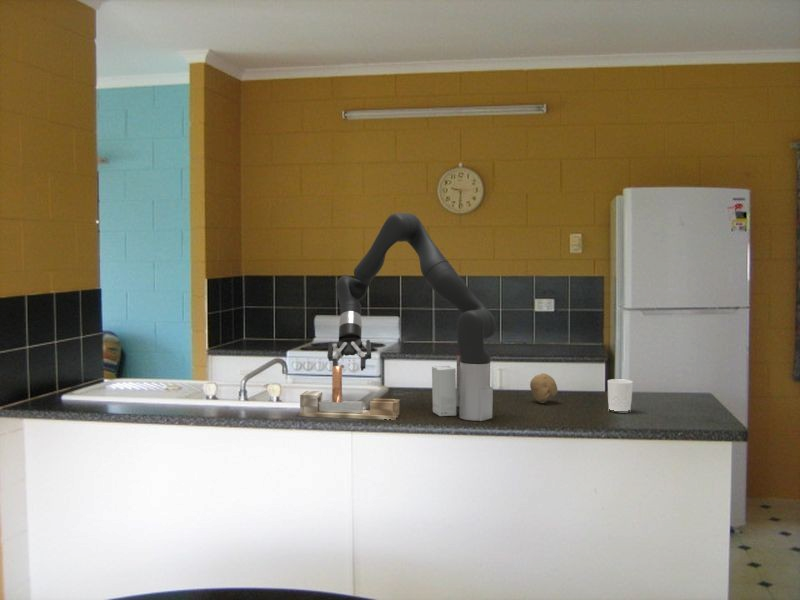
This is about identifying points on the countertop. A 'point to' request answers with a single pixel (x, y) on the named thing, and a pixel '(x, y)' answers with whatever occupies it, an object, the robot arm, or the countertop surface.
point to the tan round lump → (543, 387)
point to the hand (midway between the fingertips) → (349, 370)
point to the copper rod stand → (339, 397)
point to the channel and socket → (377, 411)
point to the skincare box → (444, 390)
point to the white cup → (620, 394)
